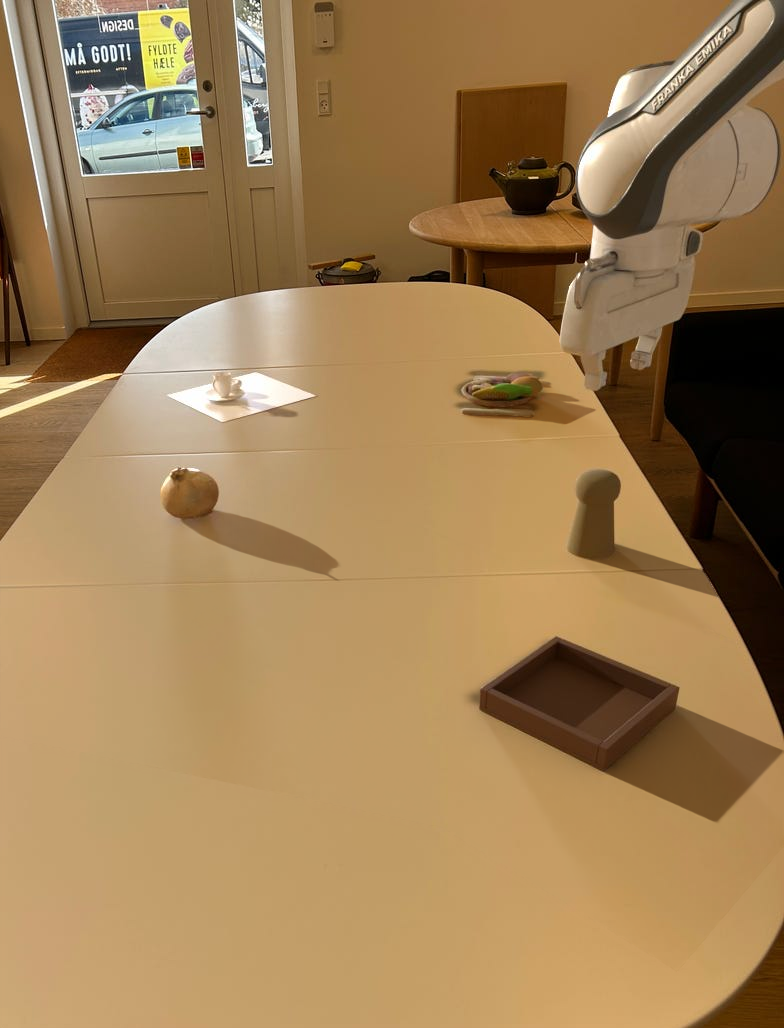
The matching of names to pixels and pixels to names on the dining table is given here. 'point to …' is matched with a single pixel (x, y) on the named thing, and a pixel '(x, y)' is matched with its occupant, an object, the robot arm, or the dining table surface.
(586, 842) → the dining table surface
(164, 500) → the onion
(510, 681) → the tray
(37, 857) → the dining table surface
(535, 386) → the toy food set
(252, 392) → the teacup and saucer
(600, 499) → the chess pawn figurine
